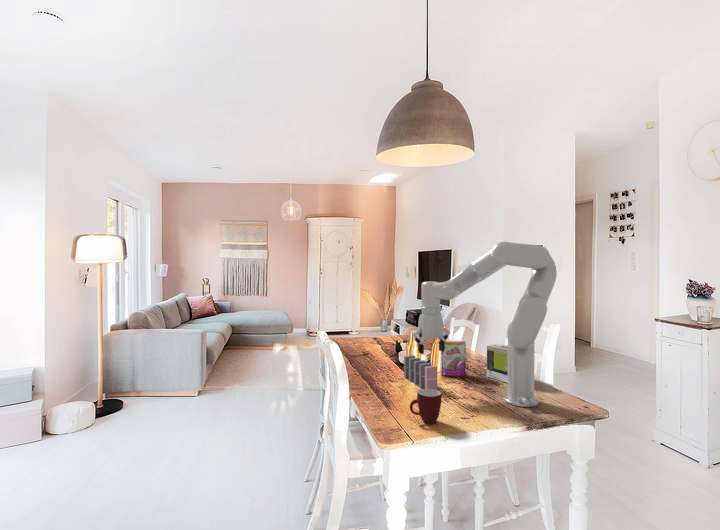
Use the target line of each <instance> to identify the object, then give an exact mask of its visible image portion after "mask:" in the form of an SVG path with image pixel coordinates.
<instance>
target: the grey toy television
mask: <svg viewBox="0 0 720 530" xmlns="http://www.w3.org/2000/svg"><path fill="white" fill-rule="evenodd" d="M486 376H487V377H488V378H490V379H495V380H497V381H501V382H504V383H506V384H508V344H504V343H497V344H490V345H486Z"/></svg>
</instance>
